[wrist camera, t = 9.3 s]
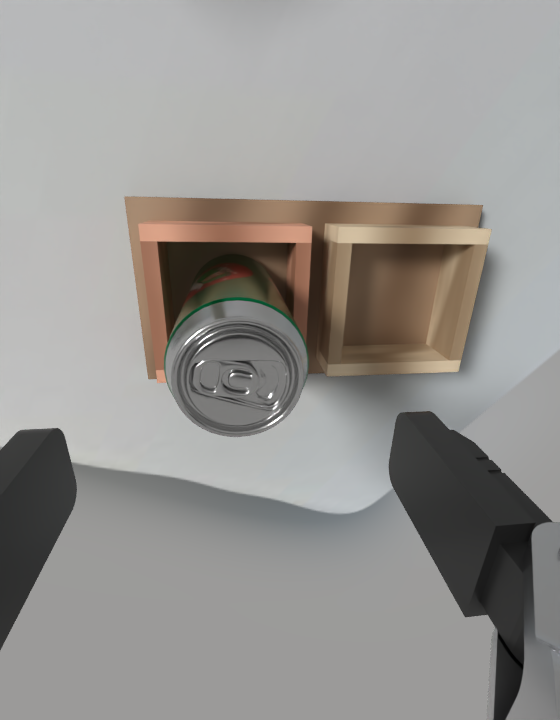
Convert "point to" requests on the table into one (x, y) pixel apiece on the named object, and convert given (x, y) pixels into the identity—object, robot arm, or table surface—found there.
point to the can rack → (323, 274)
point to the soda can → (235, 350)
